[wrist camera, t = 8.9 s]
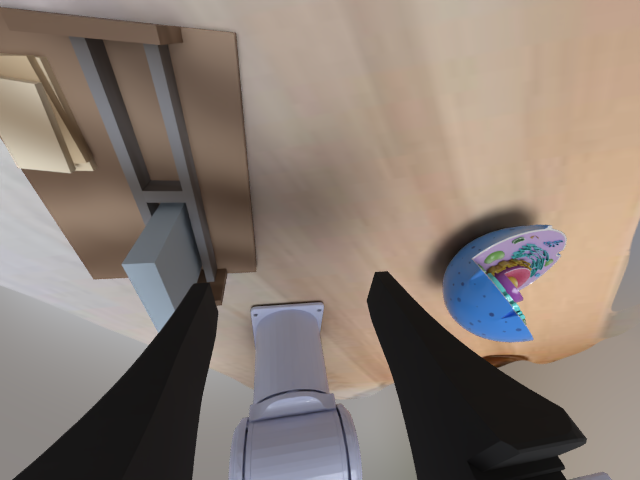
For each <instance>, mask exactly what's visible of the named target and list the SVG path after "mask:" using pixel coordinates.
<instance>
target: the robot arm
mask: <svg viewBox="0 0 640 480" xmlns="http://www.w3.org/2000/svg"><path fill="white" fill-rule="evenodd" d="M367 304H368V308H369V312H370V316H371V320H372V323H373V326H374V328H375V331H376V334H377V336H378V339H379V342H380V344H381V347H382V349H383V352H384V355H385V357H386V360H387V362H388V365H389V368H390V371H391V374H392V376H393V380H394V383H395V386H396V391H397V394H398V397H399V401H400V405H401V409H402V413H403V417H404V420H405V425H406V429H407V433H408V437H409V442H410V446H411V450H412V455H413V460H414V464H415V470H416V474H417V479H418V480H566V478H565V476H564V475H563V474H562V472H561V470H564V469H565V467H564V465H563V463H562V462H561V460H560V459H559V457H558V455H561V454H563V453H566V452H568V451H570V450H573V449H575V448H578V447H580V446H582V445H584V444H585V443H586V440H587V438H586V437H585V436H584V435H583V434H582V432H581V431H580V430H579V428H578V427H577V426H576V424H575V423H574V422H573V421H572V419H571V418H570V417H569V416H568V414H567V413H566V412H565V410H564V409H563V408H561V407H560V406H558V405H556V404H554V403H553V402H551V401H549V400H548V399H546V398H544V397H542V396H541V395H539V394H537V393H535V392H534V391H532V390H530V389H528V388H527V387H525V386H524V385H522V384H520V383H519V382H517V381H516V380H514V379H513V378H511V377H509V376H508V375H506V374H505V373H503V372H502V371H500V370H499V369H497V368H496V367H494V366H493V365H491V364H490V363H489V362H487V361H486V360H484V359H483V358H482V357H480V356H479V355H477V354H476V353H475V352H473V351H472V350H471V349H469V348H468V347H467V346H465V345H464V344H463V343H462V342H460V341H459V340H458V339H457V338H456V337H454V336H453V335H452V334H451V333H449V332H448V331H447V330H446V329H445V328H444V327H442V326H441V325H440V324H439V323H438V322H437V321H436V320H435V319H434V318H433V317H431V316H430V315H429V314H428V313H427V312H426V311H425V310H424V309H423V308H422V307H421V306H420V305H419V304H418V303H417V302H416V301H415V300H414V299H413V298H412V297H411V296H410V295H409V294H408V292H407V291H406V290H405V289H404V288H403V287H402V286H401V285H400V284H399V283H398V282H397V281H396V280H395V279H394V278H393V277H392V275H391V274H390V273H389V272H388V271H385V272H375V274H374V277H373V281H372V284H371V288H370V291H369V295H368V298H367ZM323 310H324V305H323V303H321V302H316V303H301V304H287V305H272V306H257V307H253V308H251V319H252V326H253V334H254V342H255V350H256V354H255V377H254V400H253V404H252V405H250V413H249V417H246V418H242V420H241V421H240V423H239V424H238V426H237V427H236V428H235V431H234V434H233V439H232V445H231V454H230V464H229V480H362V465H361V455H360V450H359V443H358V438H357V434H356V430H355V426H354V423H353V419H352V417H351V414H350V413H349V411H348V410H347V409H346V408H345V407H344V406H343V405H342V404H335V398H334V394H333V393H330V392H329V386H328V380H327V374H326V368H325V362H324V356H323V350H322V344H321V338H320V329H321V323H322V316H323ZM217 321H218V310H217V306H216V303H215V299H214V296H213V292H212V289H211V286H210V282H209V283H194V284H193V285H192V286H191V287H190V289H189V290H188V292H187V294H186V295H185V297H184V298H183V300H182V301H181V303H180V304H179V306H178V307H177V308H176V310H175V311H174V313H173V314H172V316H171V317H170V318H169V320H168V321H167V322H166V324H165V325H164V326H163V328H162V329H161V330H160V332H159V333H158V334H157V336H156V337H155V338H154V339H153V341H152V342H151V343H150V344H149V346H148V347H147V348H146V349H145V351H144V352H143V353H142V354H141V356H140V357H139V358H138V359H137V360H136V361H135V363H134V364H133V365H132V366H131V367H130V368H129V369H128V371H127V372H126V373H125V374H124V375H123V376H122V377H121V378H120V379H119V380H118V382H117V383H116V384H115V385H114V386H113V387H112V388H111V389H110V390H109V391H108V392H107V393H106V394H105V395H104V396H103V397H102V398H101V399H100V400H99V401H98V402H97V403H96V404H95V405H94V406H93V407H92V408H91V409H90V410H89V411H88V412H87V413H86V414H85V415H84V416H83V417H82V418H81V419H80V420H79V421H78V422H77V423H76V424H75V425H73V426H72V427H71V428H70V429H69V430H68V431H67V432H66V433H65V434H64V435H63V436H61V437H60V438H59V439H58V440H57V441H56V442H55V443H54V444H53V445H52V446H51V447H49V448H48V449H47V450H46V451H45V452H44V453H43V454H42V455H41V456H39V457H38V458H37V459H36V460H35V461H34V462H33V463H31V464H30V465H29V466H28V467H27V468H25V469H24V470H23V471H22V472H21V473H20V474H18V475H17V476H16V477H15V478H14V479H13V480H192V474H193V465H194V456H195V447H196V439H197V430H198V423H199V414H200V407H201V401H202V396H203V391H204V386H205V382H206V377H207V373H208V369H209V364H210V360H211V356H212V351H213V347H214V342H215V338H216V330H217ZM570 480H611V478H610V477H609V476H608V474H607V473H604V472H600V473H595V474H591V475H586V476H582V477H578V478H574V479H570Z"/></svg>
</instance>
